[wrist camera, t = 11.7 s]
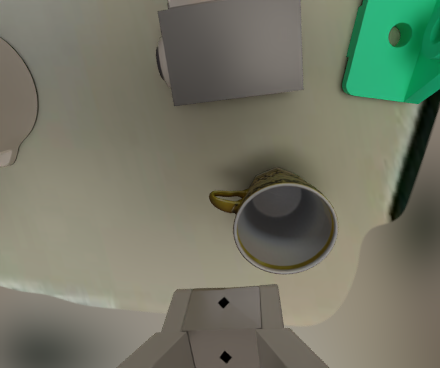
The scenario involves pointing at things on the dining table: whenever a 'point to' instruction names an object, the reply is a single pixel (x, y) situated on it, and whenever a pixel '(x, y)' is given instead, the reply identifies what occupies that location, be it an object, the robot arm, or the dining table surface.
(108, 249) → the dining table surface
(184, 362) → the robot arm
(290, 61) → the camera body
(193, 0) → the side door
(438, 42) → the camera mount
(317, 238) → the ceramic cup
